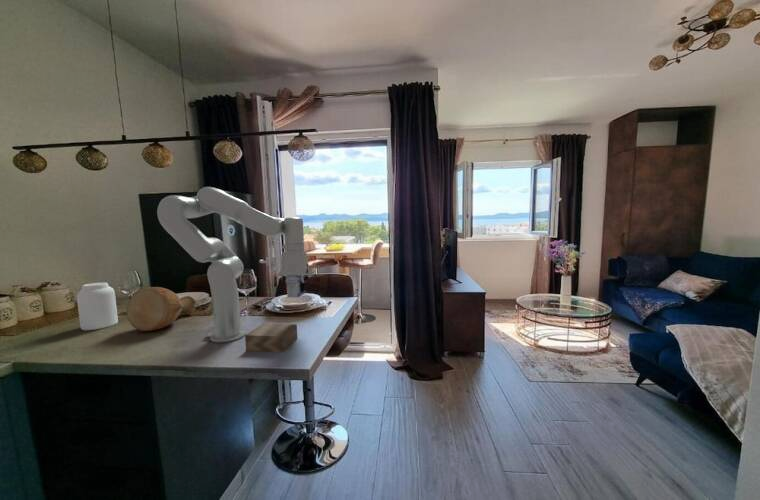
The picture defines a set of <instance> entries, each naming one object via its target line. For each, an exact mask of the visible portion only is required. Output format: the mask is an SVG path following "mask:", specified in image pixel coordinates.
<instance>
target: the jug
mask: <svg viewBox="0 0 760 500" xmlns="http://www.w3.org/2000/svg"><path fill="white" fill-rule="evenodd" d="M196 308H197V302H196V300H195V298H193V297H192V296H189V295H187V296H182V297H181V298H180V297H179V295H177V294H176V293H175V292H174V291H172V290H170V289H168V288H165V287H162V286H161V287H160V286H151V287H150V286H149V287H145V288H142V289H140V290H138V291H136V292H134V294H133V295H132V296H131V298H130V299H129V301H128V303H127V306H126V318H127V319H128V322H129V323H130V325H131V326H132V327H133V328H134V329H136V330H139V331H141V332H152V331H153V332H154V331H157V330H161V329H163V328H166V327H167V326H169V325H170V324H172V323H173V322H175V321H176V320H177V319H178V317H179V316H180V315H182V316H189V315H191V314H192V313H193V312H195V311H196Z"/></svg>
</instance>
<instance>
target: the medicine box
mask: <svg viewBox="0 0 760 500" xmlns="http://www.w3.org/2000/svg"><path fill="white" fill-rule="evenodd" d="M286 282H287V283H286ZM286 282H285V283H286V293H287V294H286V296H287V298H299V297H301V296H302V295H305V294H306V291H307V289H306V290H305V291H304V292H303V293H301V289H300V283H301V278H300V276H287V277H286Z"/></svg>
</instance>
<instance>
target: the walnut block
mask: <svg viewBox="0 0 760 500" xmlns="http://www.w3.org/2000/svg"><path fill="white" fill-rule="evenodd" d="M244 339H245V341H244V342H245V351H247V352H270V353H272V352H273V353H284V352H285V351H286V350H287V349H288V348H289V347H290V346H292V344H294V342H295V341H297V339H298V325H297V324H296V323H295V324H293V323H262V324H260V325H259V326H257V327H256V328H254V329H253V330H251V331H249V332H248V333H245V335H244Z"/></svg>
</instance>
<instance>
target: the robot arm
mask: <svg viewBox="0 0 760 500" xmlns="http://www.w3.org/2000/svg"><path fill="white" fill-rule="evenodd" d="M156 211H157V212H156V214H157V219H158V222H159V224H160V225H161V226H162V227H163V229H164V230H165V231H166V232H167V233H168V234H169V235H170V236H171V237H172V238H173V239H174V240H175V241H176V242H177V243H178V244H179V245H180V247H182V248H183V250H184V251H186V253H188V254H189V255H190V257H191V258H192V259H194V260H195V261H196V262H198V263H207V262H208V263H209V262H210V263H211V264H210V265H209V266H208V269H207V273H206V275H207V280H208V283H209V289H210V295H211V296H210V298H211V305H212V306H211V307H212V317H213V325H208V326H207V329H206V333H211V335H210V342H213V343H228V342H232V341H235V340H238V339H241V338H243V337H245V335H246V334H247V333H246V330H245V329H244V328H242V323H241V309H240V297H239V288H238V283H237V280H236V279H237V278H239V277H240V276H241V275H242V274H243V272H244V269H245V267H244V263H243V262H242V260H241V259H240V258H239V256H238V255H237V254H236V253H235V252H234V251H233V250H232V249H231V248H230V247H229V246H228V245H227V244H226V243H225V242H224V241H222V240H221V239H219V238H216V237H208V236H206V235H205V234H204V233H203V232H202V231H201V230H200V229H199V228H198V227H197V226H196V225H195V224H194V223H192V222H191V221H190V220H188V219H196V218H201V217H203V216H207V215H210V214H213V213H216V214H218V215H221V216H222V217H225V218H227V219H229V220H232V221H234V222H236V223H238V224H240V225H242V226H243V227H246V228H248V229H249V230H251V231H254V232H256V233H258V234H261V235H264V236H265V237H277V236H284V243H283V244H282V245H281V248H282V249H284V251H282V254H281V255H282V256H281V270H280V271H279V273H278V274H277V275H278V276H279V277H280V278H282V280H284V281H285V283H286V284H287V282H286V277H287V276H300V278H301V283H300V289H301V293H303V292H304V291H305V290H306V291H307V285H306V284H307V283H306V282H308V280H309V279H310V278H311V277H312V276H313V275H314V273H313V271H312V270H311V268H309V267H310V266H309V260H308V254H307V251H306V250H305V238H304V236H305V235H304V220H303V218H301V217H299V216H297V217H294V216H293V217H285V218H284V217H276V216H271V215H269V214H266V213H264V212H261V211H259V210H258V209H256V208H253V207H252V206H250V205H249V203H247V201H244V200H242V199H240V198H237V197H235V196H233V195H230V194H228V193H227V192H226V191H224V190H222V189H220V188H216V187H212V186H204V187H201V188H200V189H199V190H198V191H197V193H196V195H195V196H191V197H189V196H185V195H184V196H183V195H178V194H177V195H176V194H174V195H168V196H165V197H164V198H162V199H161V200H160V201H159V204H158V206H157V209H156Z"/></svg>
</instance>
